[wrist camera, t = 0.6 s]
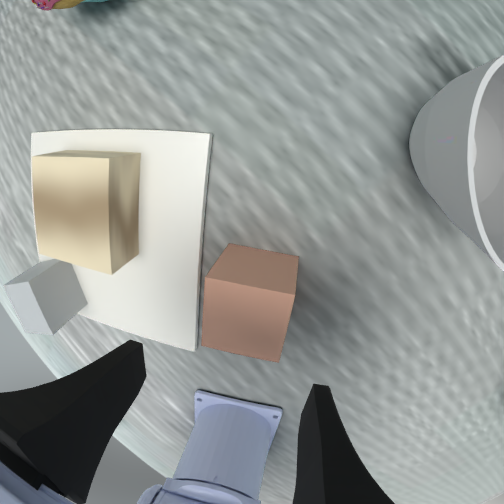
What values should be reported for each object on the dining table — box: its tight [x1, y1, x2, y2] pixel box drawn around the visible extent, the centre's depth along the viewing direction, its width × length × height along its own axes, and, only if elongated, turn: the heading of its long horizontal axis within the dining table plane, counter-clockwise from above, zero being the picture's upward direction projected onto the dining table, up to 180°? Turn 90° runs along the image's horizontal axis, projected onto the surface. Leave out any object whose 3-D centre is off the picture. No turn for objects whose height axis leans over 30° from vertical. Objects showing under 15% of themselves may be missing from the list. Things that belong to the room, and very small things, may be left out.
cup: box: [409, 55, 504, 272], centre depth 10 cm, size 8×8×10 cm
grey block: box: [3, 259, 88, 335], centre depth 21 cm, size 4×4×5 cm
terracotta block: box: [201, 244, 299, 363], centre depth 18 cm, size 4×4×5 cm
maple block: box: [32, 150, 141, 275], centre depth 18 cm, size 7×7×4 cm
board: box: [31, 129, 213, 352], centre depth 21 cm, size 16×16×1 cm
